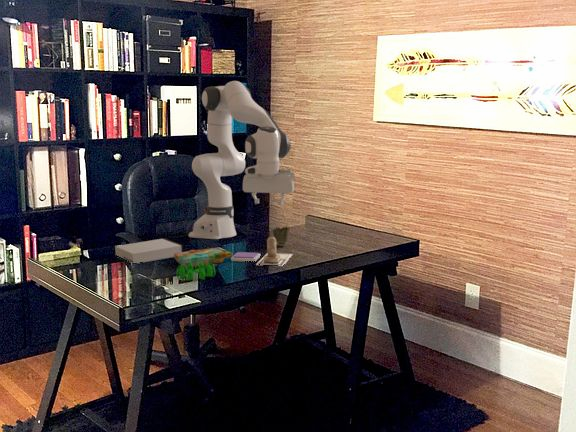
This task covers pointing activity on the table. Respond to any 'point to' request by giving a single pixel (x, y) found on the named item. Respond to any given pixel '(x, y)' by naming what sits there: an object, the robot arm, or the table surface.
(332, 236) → the table surface
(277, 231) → the cup
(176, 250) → the disc drive
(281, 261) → the form
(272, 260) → the stamp
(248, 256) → the ink pad
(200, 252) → the multicoloured oblong shape
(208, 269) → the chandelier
